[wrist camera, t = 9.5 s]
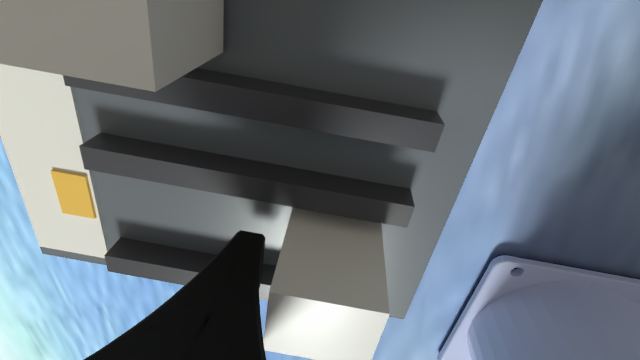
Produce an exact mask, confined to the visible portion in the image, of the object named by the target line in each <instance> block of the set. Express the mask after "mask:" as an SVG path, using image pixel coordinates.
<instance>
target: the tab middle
mask: <svg viewBox="0 0 640 360" xmlns="http://www.w3.org/2000/svg"><path fill="white" fill-rule="evenodd" d="M223 17H224V0H0V64H4V65H10V66H15V67H21V68H26V69H32V70H37V71H43V72H48V73H54V74H59V75H65V76H71V77H76V78H82V79H87V80H93V81H98V82H104V83H109V84H115V85H120V86H126V87H131V88H137V89H142V90H148V91H153V92H156V91H158V90H160V89H161V88H163V87H165V86H167V85H168V84H170V83H172V82H173V81H175V80H177V79H178V78H180V77H182V76H184V75H185V74H187V73H189V72H190V71H192V70H194V69H195V68H197V67H199V66H201V65H202V64H204V63H206V62H207V61H209V60H211V59H212V58H214V57H216V56H218V55H219V54H221V53H223Z"/></svg>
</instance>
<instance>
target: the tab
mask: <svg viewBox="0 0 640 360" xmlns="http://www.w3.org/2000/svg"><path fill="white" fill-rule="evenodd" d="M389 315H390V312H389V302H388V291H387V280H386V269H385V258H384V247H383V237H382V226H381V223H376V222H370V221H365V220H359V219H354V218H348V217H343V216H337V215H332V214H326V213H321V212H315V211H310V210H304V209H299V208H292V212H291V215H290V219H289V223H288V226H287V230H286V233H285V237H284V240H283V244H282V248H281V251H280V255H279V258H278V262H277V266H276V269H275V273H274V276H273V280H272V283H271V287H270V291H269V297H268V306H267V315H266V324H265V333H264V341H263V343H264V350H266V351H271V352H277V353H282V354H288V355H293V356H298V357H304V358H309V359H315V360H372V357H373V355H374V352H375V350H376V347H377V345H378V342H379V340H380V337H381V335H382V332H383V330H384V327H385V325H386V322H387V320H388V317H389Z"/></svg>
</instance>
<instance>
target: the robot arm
mask: <svg viewBox="0 0 640 360" xmlns="http://www.w3.org/2000/svg"><path fill="white" fill-rule="evenodd" d="M264 248H265V237H264V235H263V234H259V233H253V232H248V231H242V230H240V231H238V232H237V233H236V234H235V235H234V236H233V238H232V239H231V240H230V241H229V242H228V243H227V244H226V246H225V247H224V248H223V249H222V250H221V251H220V252H219V253H218V254H217V255H216V256H215V257H214V258H213V259H212V260H211V261H210V262H209V263H208V264H207V265H206V266H205V267H204V268H203V269H202V270H201V271H200V272H199V273H198V274H197V275H196V276H195V277H194V278H193V279H192V280H191V281H189V282H188V283H187V284H186V285H185V286H184V287H183V288H181V289H180V290H179V291H178V292H177V293H176V294H175V295H173V296H172V297H171V298H170V299H169V300H168V301H166V302H165V303H164V304H163V305H161V306H160V307H159V308H158V309H156V310H155V311H154V312H153V313H151V314H150V315H149V316H147V317H146V318H145V319H143V320H142V321H141V322H139V323H138V324H137V325H135V326H134V327H132V328H131V329H129V330H128V331H127V332H125V333H124V334H122V335H121V336H119V337H118V338H117V339H115V340H114V341H112V342H111V343H109V344H108V345H106V346H105V347H103V348H102V349H100V350H99V351H97V352H95V353H94V354H92V355H91V356H89V357H87V358H86V359H84V360H266V356H265V350H264V343H263V336H262V328H261V318H260V304H259V288H260V283H261V279H262V270H263V259H264ZM516 267H518V268H517V269H514V268H516ZM512 269H514V270H512ZM437 359H438V360H640V280H639V279H634V278H628V277H623V276H617V275H612V274H606V273H601V272H595V271H590V270H584V269H579V268H573V267H568V266H562V265H557V264H551V263H546V262H540V261H535V260H529V259H524V258H518V257H513V256H507V255H502V256H498V257H496V258H494V259H493V260H492V261H491V263H490V264H489V266H488V268H487V270H486V272H485V273H484V275H483V277H482V279H481V280H480V282H479V284H478V286H477V287H476V289H475V291H474V293H473V295H472V296H471V298H470V300H469V302H468V303H467V305H466V307H465V309H464V310H463V312H462V314H461V316H460V318H459V319H458V321H457V323H456V325H455V326H454V328H453V330H452V332H451V334H450V335H449V337H448V339H447V341H446V342H445V344H444V346H443V348H442V349H441V351H440V353H439V355H438V357H437Z"/></svg>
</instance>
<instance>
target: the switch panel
mask: <svg viewBox="0 0 640 360" xmlns="http://www.w3.org/2000/svg"><path fill="white" fill-rule="evenodd" d="M542 1H543V0H224V17H223V53H221V54H219V55H218V56H216V57H214V58H212V59H211V60H209V61H207V62H206V63H204V64H202V65H201V66H199V67H197V68H195V69H194V70H192V71H190V72H189V73H187V74H185V75H184V76H182V77H180V78H178V79H177V80H175V81H173V82H172V83H170V84H168V85H167V86H165V87H163V88H161V89H160V90H158V91H156V92H153V91H148V90H142V89H137V88H131V87H126V86H120V85H115V84H109V83H104V82H98V81H93V80H87V79H82V78H76V77H71V76H65V75H59V74H54V73H48V72H43V71H37V70H32V69H26V68H21V67H15V66H10V65H4V64H0V136H1V139H2V142H3V145H4V148H5V150H6V153H7V156H8V159H9V162H10V164H11V167H12V170H13V173H14V176H15V179H16V181H17V184H18V187H19V190H20V193H21V195H22V198H23V201H24V204H25V207H26V209H27V212H28V215H29V218H30V221H31V223H32V226H33V229H34V232H35V235H36V237H37V240H38V243H39V246H40V248H41V251H42V253H43V254H48V255H54V256H59V257H65V258H70V259H76V260H81V261H87V262H92V263H98V264H103V265H107V269H108V271H110V272H115V273H121V274H126V275H132V276H137V277H143V278H148V279H154V280H159V281H165V282H170V283H176V284H181V285H186V284H187V283H188V282H189V281H191V280H192V279H193V278H194V277H195V276H196V275H197V274H198V273H199V272H200V271H201V270H202V269H203V268H204V267H205V266H206V265H207V264H208V263H209V262H210V261H211V260H212V259H213V258H214V257H215V256H216V255H217V254H218V253H219V252H220V251H221V250H222V249H223V248H224V247H225V246H226V244H227V243H228V242H229V241H230V240H231V239H232V238H233V236H234V235H235V234H236V233H237V232H238V231H240V230H242V231H248V232H253V233H259V234H263V235H264V237H265V248H264V259H263V270H262V279H261V283H260V288H259V299H263V300H268V297H269V291H270V287H271V283H272V280H273V276H274V273H275V269H276V266H277V262H278V258H279V255H280V251H281V248H282V244H283V240H284V237H285V233H286V230H287V226H288V223H289V219H290V215H291V212H292V208H299V209H304V210H310V211H315V212H321V213H326V214H332V215H337V216H343V217H348V218H354V219H359V220H365V221H370V222H376V223H381V226H382V237H383V247H384V258H385V269H386V280H387V291H388V302H389V312H390V315H389V317H394V318H400V319H404V318H405V315H406V313H407V311H408V308H409V306H410V304H411V302H412V299H413V297H414V295H415V292H416V290H417V288H418V285H419V283H420V281H421V279H422V276H423V274H424V272H425V269H426V267H427V265H428V263H429V260H430V258H431V256H432V253H433V251H434V249H435V246H436V244H437V242H438V240H439V237H440V235H441V233H442V230H443V228H444V226H445V224H446V221H447V219H448V217H449V214H450V212H451V210H452V208H453V205H454V203H455V201H456V198H457V196H458V194H459V191H460V189H461V187H462V185H463V182H464V180H465V178H466V175H467V173H468V171H469V169H470V166H471V164H472V162H473V159H474V157H475V155H476V152H477V150H478V148H479V146H480V143H481V141H482V139H483V136H484V134H485V132H486V130H487V127H488V125H489V123H490V120H491V118H492V116H493V114H494V111H495V109H496V107H497V104H498V102H499V100H500V97H501V95H502V93H503V91H504V88H505V86H506V84H507V81H508V79H509V77H510V75H511V72H512V70H513V68H514V65H515V63H516V61H517V58H518V56H519V54H520V52H521V49H522V47H523V45H524V42H525V40H526V38H527V36H528V33H529V31H530V29H531V26H532V24H533V22H534V19H535V17H536V15H537V13H538V10H539V8H540V6H541V3H542Z"/></svg>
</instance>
